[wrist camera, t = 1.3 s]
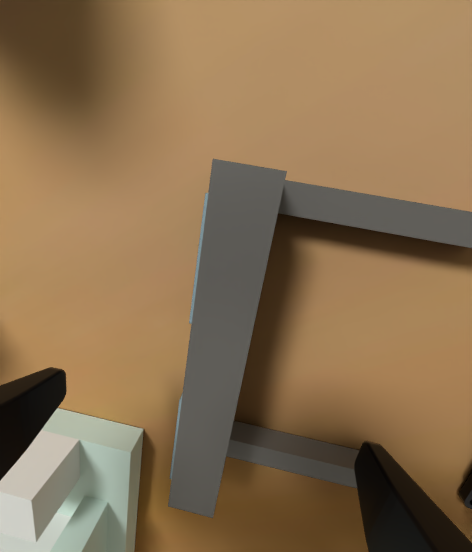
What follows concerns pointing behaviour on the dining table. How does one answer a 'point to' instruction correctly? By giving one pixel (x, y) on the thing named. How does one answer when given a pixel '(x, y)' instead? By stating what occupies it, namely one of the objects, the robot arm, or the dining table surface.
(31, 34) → the dining table surface
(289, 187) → the sunglasses
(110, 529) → the mint stepped display stand
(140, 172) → the dining table surface
